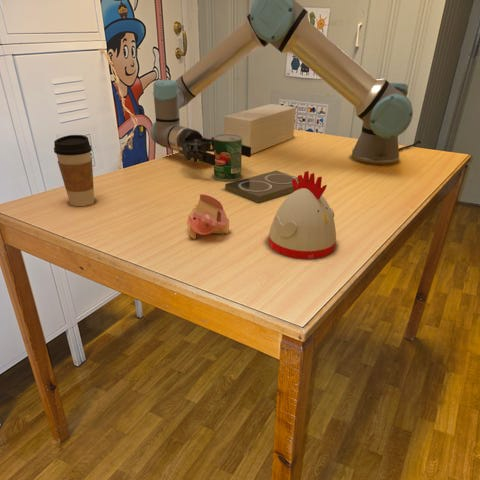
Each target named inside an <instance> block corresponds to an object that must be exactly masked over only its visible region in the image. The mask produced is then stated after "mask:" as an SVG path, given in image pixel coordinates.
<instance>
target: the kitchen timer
mask: <svg viewBox="0 0 480 480" xmlns="http://www.w3.org/2000/svg"><path fill="white" fill-rule="evenodd" d="M297 177H298V184H297V181H296V179H292V184H293V188H294V192H292V193H289V195H287V196H286V198H285V199H284V200H283V201H282V203H280V206H279V207H278V209H277V210H276V213H275V215H274V217H273V219H272V222H271V225H270V227H269V232H268V245H269V247H270V248H271V249H272V250H273V251H274V252H276V253H278V254H280V255H283V256H285V257H289V258H295V259H303V260H304V259H305V260H310V259H319V258H324V257H326V256H328V255H331V254H332V253H333V252H334V250H335V246H336V241H337V230H336V223H335V219H334V218H335V211H334V209H333V208H332V207H330V205H329V203H328V201H327V199H326V198H325V196H323V194H324V193H325V191H326V189H327V186H328V184H324V185H322V180H323V177H322V175H321V176H318V177H317V178H315V172H312V173H309V170H306V171H304V173H303V175H302V174H298V175H297Z"/></svg>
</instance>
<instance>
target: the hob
mask: <svg viewBox="0 0 480 480" xmlns="http://www.w3.org/2000/svg"><path fill="white" fill-rule="evenodd" d="M292 179H296V181H297V184H298V176H295V175H291V174H288V173H285V172H282V171H279V170H272V171H269V172H265V173H261V174H257V175H253V176H250V177H246V178H241V179H238V180H234V181H230V182H228V183H225V184H224V190H225V191H228V192H230V193H233V194H235V195H237V196H240V197H242V198H245V199H247V200H250V201H252V202H255V203H257V204H258V203H259V204H260V203H263V202H266V201H269V200H273V199H276V198H279V197H282V196H286V195H288V194H291V193H293V192H294V188H293V184H292Z"/></svg>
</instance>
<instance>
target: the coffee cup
mask: <svg viewBox="0 0 480 480" xmlns="http://www.w3.org/2000/svg"><path fill="white" fill-rule="evenodd" d="M53 144H54V145H53V146H54V147H53V153H54V154H56V157H57V165H58V167H59V171H60V175H61V178H62V181H63V184H64V188H65V191H66V194H67V198H68V201H69V202H68V203H69V204H70V205H71V206H73V207H86V206H90V205H92V204H94V203H95V190H94V189H95V188H94V172H93V171H94V170H93V159H92V156H91V155H92V154H91V153H92V151H93V148H92V145H91V143H90V140H89V137H88V136H86V135H83V134H68V135H64V136H61V137H59V138H57V139H55V140H54V142H53Z"/></svg>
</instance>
